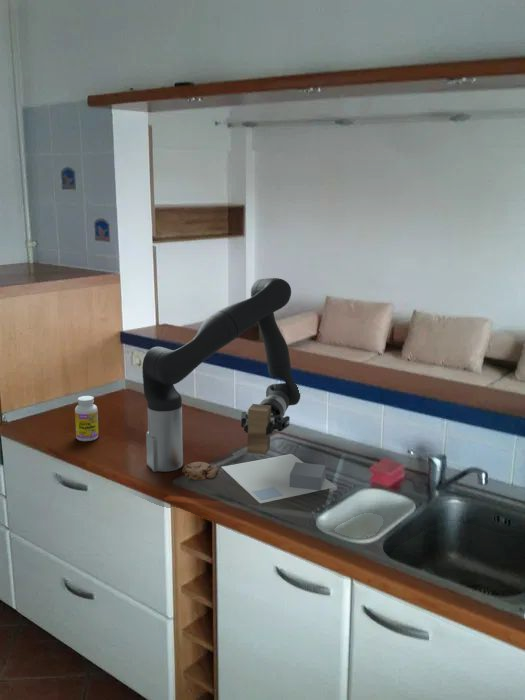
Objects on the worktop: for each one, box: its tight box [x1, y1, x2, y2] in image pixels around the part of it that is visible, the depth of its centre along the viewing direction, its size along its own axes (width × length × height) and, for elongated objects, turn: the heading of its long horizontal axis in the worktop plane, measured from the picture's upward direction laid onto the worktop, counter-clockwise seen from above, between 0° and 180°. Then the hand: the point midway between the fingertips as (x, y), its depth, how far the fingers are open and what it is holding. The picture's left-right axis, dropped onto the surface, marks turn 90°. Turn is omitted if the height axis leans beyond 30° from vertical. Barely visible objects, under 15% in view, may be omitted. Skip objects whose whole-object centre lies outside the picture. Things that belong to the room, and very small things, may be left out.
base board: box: [221, 453, 338, 508], centre depth 178 cm, size 22×24×4 cm
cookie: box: [181, 461, 219, 481], centre depth 181 cm, size 10×11×3 cm
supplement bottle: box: [74, 395, 99, 442], centre depth 205 cm, size 7×7×13 cm
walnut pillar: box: [246, 403, 271, 456], centre depth 179 cm, size 5×5×12 cm
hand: (257, 430), depth 176 cm, fingers closed on walnut pillar, 5 cm apart
